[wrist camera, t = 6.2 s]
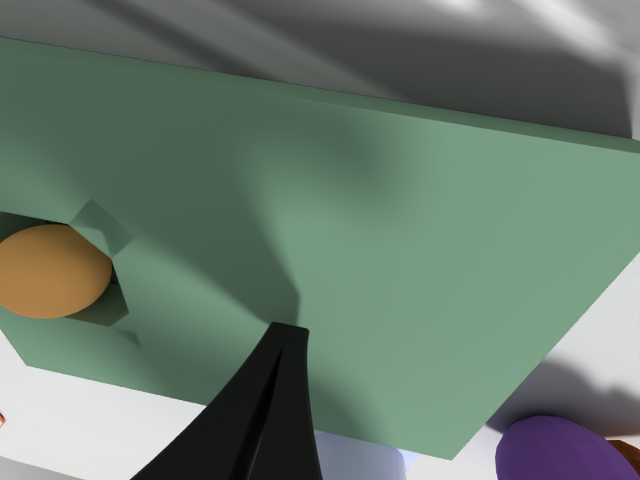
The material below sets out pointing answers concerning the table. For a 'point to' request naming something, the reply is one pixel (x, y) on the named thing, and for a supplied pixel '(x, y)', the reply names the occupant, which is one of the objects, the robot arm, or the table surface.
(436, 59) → the table surface
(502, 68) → the table surface
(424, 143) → the putting mat
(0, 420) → the cracker box
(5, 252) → the ball
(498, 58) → the table surface
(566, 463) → the kendama
